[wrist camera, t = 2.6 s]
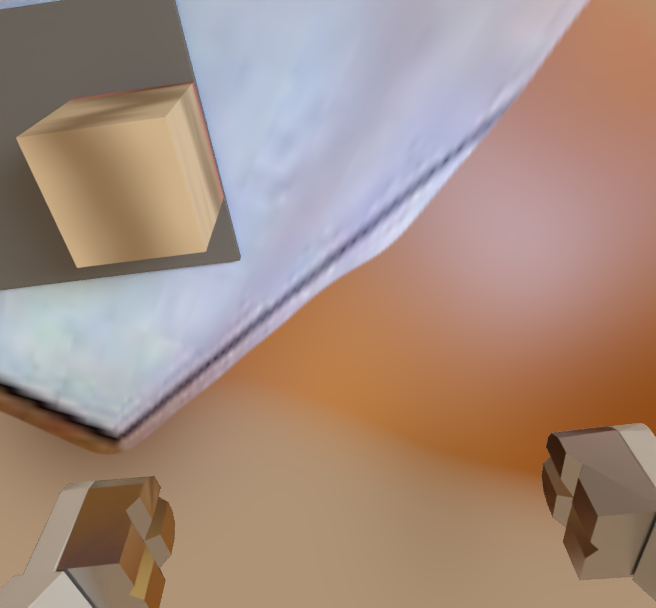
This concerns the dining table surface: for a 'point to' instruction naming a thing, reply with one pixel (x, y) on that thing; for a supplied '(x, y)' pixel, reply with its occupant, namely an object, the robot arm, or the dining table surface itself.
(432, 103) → the dining table surface
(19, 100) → the mat
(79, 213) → the cube
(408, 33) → the dining table surface
